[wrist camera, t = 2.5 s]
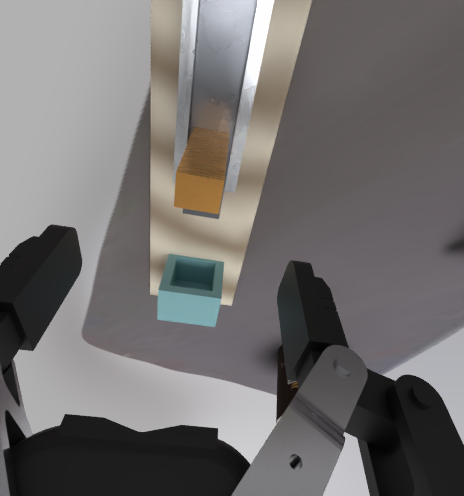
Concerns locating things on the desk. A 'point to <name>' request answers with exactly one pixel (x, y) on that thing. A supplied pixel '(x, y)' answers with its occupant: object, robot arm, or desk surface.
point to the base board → (254, 154)
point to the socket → (190, 290)
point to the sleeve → (248, 88)
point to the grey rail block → (214, 104)
